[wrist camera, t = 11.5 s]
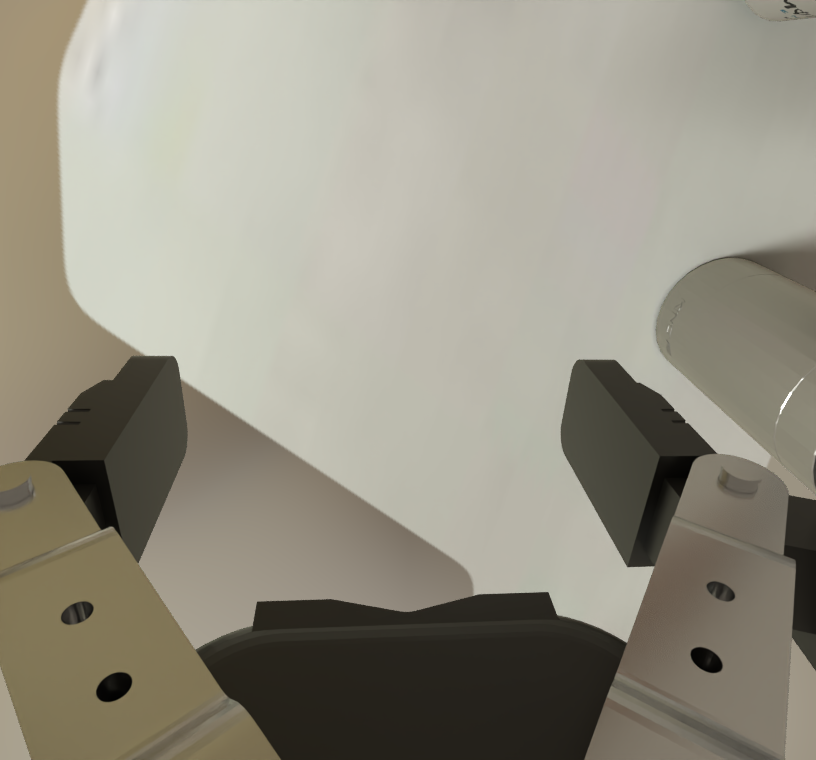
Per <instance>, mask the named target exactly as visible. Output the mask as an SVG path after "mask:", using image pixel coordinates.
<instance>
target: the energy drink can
mask: <svg viewBox="0 0 816 760" xmlns="http://www.w3.org/2000/svg"><path fill="white" fill-rule="evenodd" d="M745 1H746V3H747V5H748V6H749V8H750V9H751V10H752V11H753V12H754V13H755V14H757V15H758V16H760V17H761V18H763V19H766V20H769V21H787V20H795V19H804V18H813V17H816V0H745Z"/></svg>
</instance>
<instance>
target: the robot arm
mask: <svg viewBox="0 0 816 760" xmlns="http://www.w3.org/2000/svg"><path fill="white" fill-rule="evenodd" d="M656 337H657V343H658V345H659V348H660V351H661V352H662V354H663V355H664V357H665V358H666V359H667V360H668V361H669V362H670V363H671V364H672V365H673V366H674V367H675V368H676V369H677V370H679V371H680V372H681V373H682V374H683V375H684V376H685V377H686V378H687V379H688V380H690V381H691V382H692V383H693V384H694V385H695V386H696V387H697V388H698V389H699V390H700V391H701V392H702V393H703V394H705V395H706V396H707V397H708V398H709V399H710V400H711V401H712V402H713V403H714V404H716V405H717V406H718V407H719V408H720V409H721V410H722V411H723V412H724V413H725V414H726V415H728V416H729V417H730V418H731V419H732V420H733V421H734V422H735V423H736V424H737V425H739V426H740V427H741V428H742V429H743V430H744V431H745V432H746V433H747V434H748V435H749V436H751V437H752V438H753V439H754V440H755V441H756V442H757V443H758V444H759V445H760V446H762V447H763V448H764V449H765V450H766V451H767V452H768V453H769V454H770V455H771V456H772V457H774V458H775V459H776V460H777V461H778V462H779V463H780V464H781V465H782V466H784V467H785V468H786V469H787V470H788V471H789V472H790V473H791V474H793V475H794V476H795V477H796V478H797V479H798V480H799V481H800V482H801V483H802V484H804V485H805V486H806V487H807V488H808V489H809V490H810V491H811V492H812V493H813V494H815V495H816V292H815V291H813V290H811V289H809V288H807V287H805V286H803V285H801V284H799V283H796V282H794V281H793V280H791V279H789V278H786V277H784V276H782V275H780V274H778V273H776V272H774V271H772V270H770V269H767V268H765V267H763V266H761V265H759V264H757V263H755V262H753V261H750V260H746V259H742V258H724V259H719V260H714V261H711V262H709V263H707V264H704V265H702V266H700V267H698V268H696V269H695V270H693V271H692V272H690V273H688V274H687V275H686V276H685V277H684V278H683V279H681V280H680V281H679V282H678V283H677V284H676V285H675V287H674V288H673V289H672V290H671V291H670V293H669V294H668V296H667V297H666V299H665V301H664V303H663V304H662V306H661V309H660V312H659V315H658V318H657V325H656ZM561 443H562V448H563V452H564V454H565V456H566V458H567V460H568V461H569V463H570V465H571V467H572V469H573V470H574V472H575V474H576V476H577V478H578V479H579V481H580V483H581V485H582V487H583V488H584V490H585V492H586V494H587V496H588V497H589V499H590V501H591V503H592V505H593V506H594V508H595V510H596V512H597V513H598V515H599V517H600V519H601V521H602V522H603V524H604V526H605V528H606V530H607V531H608V533H609V535H610V537H611V539H612V540H613V542H614V544H615V546H616V548H617V549H618V551H619V553H620V555H621V556H622V558H623V560H624V562H625V564H626V565H627V567H646V566H655V567H654V570H653V573H652V575H651V578H650V581H649V584H648V587H647V589H646V592H645V595H644V598H643V600H642V603H641V606H640V609H639V612H638V614H637V617H636V620H635V623H634V625H633V628H632V631H631V634H630V637H629V639H628V642H627V643H626V642H624V641H623V640H621V639H619V638H618V637H616V636H614V635H612V634H610V633H608V632H606V631H604V630H602V629H600V628H597V627H595V626H592V625H590V624H587V623H584V622H582V621H578V620H575V619H571V618H568V617H563V616H558V615H557V614H556V611H555V609H554V606H553V603H552V601H551V598H550V595H549V593H548V592H539V593H508V594H479V595H475V596H472V597H468V598H464V599H460V600H456V601H452V602H448V603H445V604H441V605H437V606H433V607H429V608H425V609H421V610H417V611H413V612H400V611H394V610H388V609H383V608H377V607H372V606H366V605H360V604H354V603H349V602H344V601H338V600H332V599H326V600H296V601H266V602H257V605H256V611H255V617H254V622H253V626H251V627H247V628H243V629H240V630H237V631H234V632H232V633H229V634H226V635H224V636H221V637H219V638H217V639H215V640H213V641H211V642H209V643H207V644H205V645H203V646H201V647H200V648H198V649H196V650H195V649H194V648H193V646H192V645H191V643H190V641H189V640H188V638H187V637H186V635H185V634H184V632H183V631H182V629H181V628H180V626H179V625H178V623H177V622H176V620H175V619H174V617H173V616H172V614H171V613H170V611H169V610H168V608H167V607H166V605H165V604H164V602H163V601H162V599H161V598H160V596H159V595H158V593H157V592H156V590H155V589H154V587H153V586H152V584H151V583H150V581H149V579H148V578H147V577H146V575H145V573H144V572H143V570H142V569H141V567H140V566H139V564H138V563H139V560H140V558H141V556H142V554H143V551H144V549H145V547H146V544H147V542H148V540H149V537H150V535H151V533H152V531H153V528H154V526H155V524H156V521H157V519H158V517H159V514H160V512H161V510H162V507H163V505H164V503H165V500H166V498H167V496H168V493H169V491H170V489H171V487H172V484H173V482H174V480H175V477H176V475H177V473H178V470H179V468H180V466H181V463H182V461H183V459H184V456H185V453H186V448H187V422H186V415H185V409H184V401H183V394H182V387H181V380H180V373H179V367H178V363H177V361H176V359H175V357H173V356H132V357H131V358H130V359H129V360H128V361H127V363H126V364H125V366H124V367H123V368H122V369H121V371H120V372H119V374H117V376H116V377H115V378H114V380H103V381H101V382H100V383H98V384H96V385H94V386H93V387H91V388H89V389H88V390H86V391H84V392H82V393H81V394H80V395H79V396H78V397H77V399H76V400H75V401H74V402H73V403H72V405H71V406H70V407H69V408H68V412H65V413H64V414H63V415H62V416H61V418H60V419H59V420H58V421H57V425H54V426H53V427H52V428H51V430H50V431H49V432H48V433H47V434H46V436H45V437H44V438H43V439H42V440H41V442H40V443H39V444H38V445H37V446H36V448H35V449H34V450H33V451H32V452H31V453H30V455H29V456H28V457H27V458H26V459H25V461H20V462H14V463H9V464H5V465H1V466H0V667H1V670H2V673H3V676H4V679H5V682H6V685H7V688H8V691H9V694H10V697H11V700H12V703H13V706H14V709H15V712H16V715H17V718H18V721H19V724H20V727H21V730H22V733H23V736H24V739H25V742H26V745H27V748H28V751H29V754H30V757H31V760H785V744H786V727H787V709H788V693H789V676H790V659H791V641H792V638H793V639H794V641H795V642H796V644H797V645H798V646H799V648H800V649H801V651H802V652H803V653H804V655H805V656H806V658H807V659H808V661H809V662H810V663H811V665H812V666H813V668H814V669H815V670H816V500H811V499H806V498H801V497H795V496H790V495H789V493H788V489H787V486H786V485H785V484H784V482H783V481H782V480H781V479H780V478H779V477H778V476H777V475H775V474H774V473H773V472H771V471H770V470H768V469H767V468H765V467H763V466H761V465H759V464H757V463H754V462H752V461H749V460H747V459H744V458H740V457H736V456H731V455H725V454H717V453H716V452H715V451H714V450H713V449H712V448H711V447H710V446H709V445H708V443H707V442H706V441H705V440H704V439H703V438H702V437H701V436H700V435H699V434H698V433H697V432H696V431H695V430H694V429H693V428H692V427H691V426H690V425H689V424H688V423H685V419H684V418H683V417H682V416H681V415H680V414H679V413H678V412H674V408H673V407H672V406H671V405H670V404H669V403H668V402H667V401H666V400H665V399H664V398H663V397H662V395H660V394H659V393H657V392H655V391H653V390H652V389H650V388H648V387H646V386H645V385H643V384H641V383H636V382H635V381H634V379H633V378H632V377H631V376H630V375H629V374H628V373H627V372H626V371H625V370H624V369H623V367H622V366H621V365H620V364H619V363H618V362H617V361H615V360H577V361H576V363H575V364H574V366H573V369H572V373H571V378H570V383H569V388H568V393H567V398H566V404H565V409H564V414H563V419H562V424H561Z"/></svg>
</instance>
